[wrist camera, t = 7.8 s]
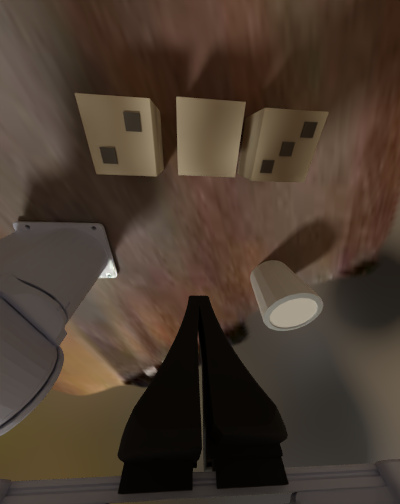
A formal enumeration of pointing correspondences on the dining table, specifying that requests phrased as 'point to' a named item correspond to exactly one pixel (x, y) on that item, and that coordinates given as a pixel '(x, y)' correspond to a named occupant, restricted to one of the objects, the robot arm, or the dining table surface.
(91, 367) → the dining table surface
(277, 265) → the cream short cylinder
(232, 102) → the plain block
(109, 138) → the dotted block two
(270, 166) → the dotted block three
